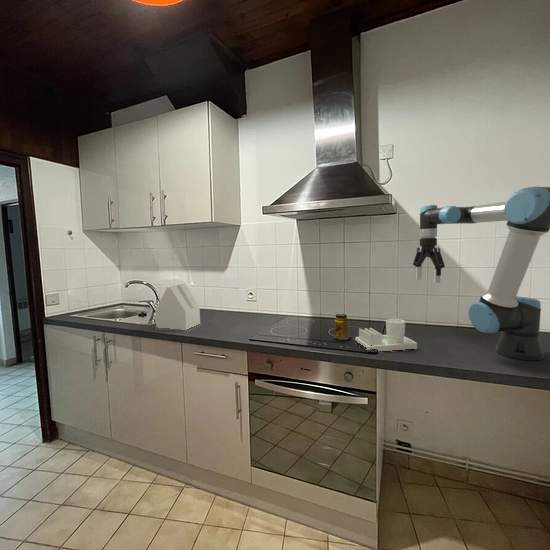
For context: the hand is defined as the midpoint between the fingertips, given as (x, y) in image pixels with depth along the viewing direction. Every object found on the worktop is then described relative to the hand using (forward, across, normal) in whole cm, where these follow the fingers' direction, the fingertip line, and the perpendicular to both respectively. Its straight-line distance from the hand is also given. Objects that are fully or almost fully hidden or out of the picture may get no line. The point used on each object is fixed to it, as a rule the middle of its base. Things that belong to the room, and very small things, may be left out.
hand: (427, 281), depth 152 cm
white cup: (+25, +14, -25) cm, 38 cm away
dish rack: (+26, +12, -30) cm, 41 cm away
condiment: (+27, -3, -43) cm, 51 cm away
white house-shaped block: (+26, -49, -126) cm, 138 cm away
